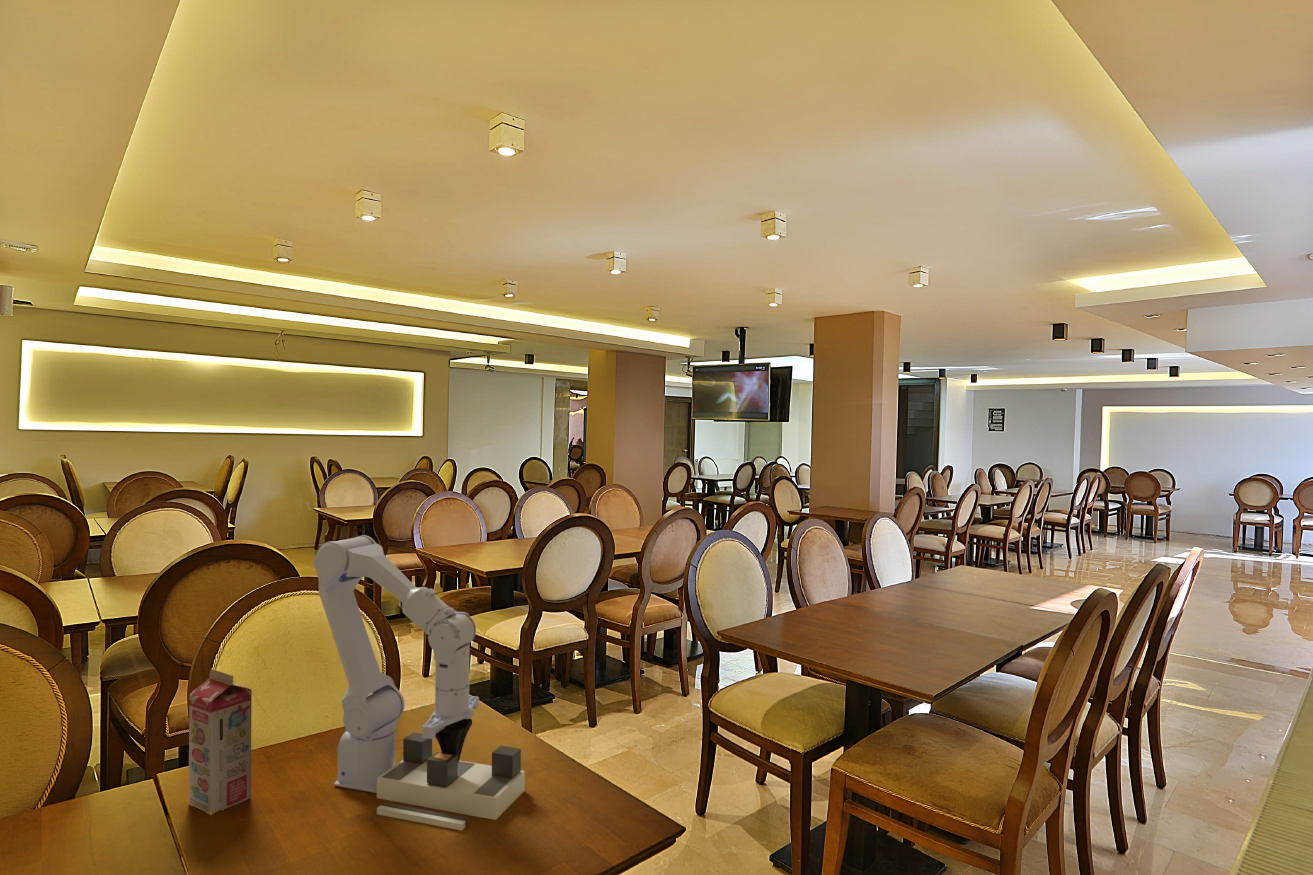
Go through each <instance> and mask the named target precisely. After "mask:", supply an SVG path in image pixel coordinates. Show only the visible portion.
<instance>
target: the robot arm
mask: <svg viewBox="0 0 1313 875" xmlns="http://www.w3.org/2000/svg"><path fill="white" fill-rule="evenodd" d="M312 563H313V566H314V569H315V572H316V575H317V578H318V579H317V580H318V594H319V598H320V600H321V603H322V604H321V605H322V606H323V610H324V612H325V616H326V618H327V622H328V625H329V629H330V631H331V635H332V637H333V640H334V643H335V646H336V650H337V652H338V654H339V658H340V660H341V661H340V662H341V664H342V667H343V670H344V674H345V677H346V679H347V680H346V681H347V683H348V686H347V689H346V691H345V693H344V695H343V697H342V699H341V702H340V703H341V705H342V709H343V718H342V721H343V725H344V728H345V731H344V733H343V734H342V736H341V737H340V739H339V742H338V746H337V780H335V782H334V783H333V785H334V786H336V787H341V788H346V789H352V790H357V791H362V792H368V793H373V794H377V777H379V776H380V775H382V774H383V773H384V772H386V771H387V770H389V769H390V768H392V767H393V766H395V765H396V749H397V748H396V736H397V735H396V734H397V733H396V732H397V731H396V730H397V728H396V726H398V721H399V720H398V719H400V717H401V716H402V715H403V714H404V711H405V705H406V704H405V699H404V696H403V694H402V692H401V691H400V690H399V689H398V688H397V687H396V685H395V683H394V680H393V678H392V677H391V676H389V675H386V674H385V673H384V672H381V670H380V668H379V665H378V661H377V659H376V656H375V652H374V650H373V647H372V643H371V641H370V637H369V634H368V632H367V628H366V624H365V622H364V620H363V617H362V613H361V610H360V606H359V605H358V601H357V598H356V596H355V593H354V592H355V591H354V590H355V589H356V587H357V585H358V583H359V582H360V580H361V579H363V578H370V579H371V580H372V581H374V582H375V583H376V584H378V586H380V587H381V588H383V589H384V590H386V591H387V592H388V594H389V593H390V595H392V596H393V597H395V598H396V599H397V600H398V601H400V602H401V606H402V607H401V609H402V611H401V612H402V613H403V614H404V615H405V616H406V617H407V618H408V619H410V621H412V622H413V623H414V624H415V625H416V626H417V627H419V628H420V629H421V630H422V631H423V632H424V633H425V634H426V635H428V636H427V639H428V640H427V641H428V644H429V646H430V648H431V649H432V652H433V660H434V661H435V662H434V666H435V667H434V668H435V669H434V670H435V671H434V672H435V674H434V676H435V678H434V680H435V681H434V683H435V684H434V695H435V696H434V711H433V713H432V714H431V715H430V718H429V719H428V720H427V721H426V722H425V724H424V725H422V726H421V731H422V732H421V734H422V738H428V739H432V740H433V739H435V738H436V741H437V742H438V745H439V747H440V752H441V753H448V754H454V755H458V763H459V761H461V755H462V752H463V748H464V744H465V741H466V737H467V735H468V732H469V731H470V728H471V727H472V725H473V719H472V718H473V717H474V716H475V711H474V710H477V709H478V708H479V707H480V697H479V696H476V695H475V696H473V695H470V650H471V649H470V647H471V645H470V643H471V642H473V640H474V639H475V637H476V634H477V633H476V632H477V627H476V624H475V621H474V620H473V618H472V617H471V616H470V614H469V613H468V612H465V611H456V610H455V609H454V607H452V606H449V605H448V604H446V603H445V601H443V600H442V599H441V598H439V597H438V596H437V595H436V593H437V591H436V590H434V589H433V588H428V587H426V586H421V587H417V586H416V585H415V584H414V583H413V582H412V581H410V579H408V578H407V576H405V574H404V573H403V572H402V571H401V570H400V569H399V568H398V567H397V566H396V565H395V564H394V563H393V562H392V561H391V560H390V559H389V558H388V557H387V556H386V555H385V553H384V548H383V546H382V545H380V544H379V543H378V542H376V541H375V539H374V538H372V537H370V536H369V535H365V534H364V535H363V534H362V535H358V536H356V537H351V538H347V539H342V540H335V541H332V540H331V541H327V542H324V543H323V544H322V545H321V546H320V547H319V549H318V550H317V553H316V555H315V556H314V558H313V560H312Z"/></svg>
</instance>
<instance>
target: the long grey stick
mask: <svg viewBox="0 0 1313 875" xmlns="http://www.w3.org/2000/svg"><path fill="white" fill-rule="evenodd" d="M376 815H379V816H384V817H389V818H395V819H399V820H405V821H409V822H416V823H419V824H420V823H421V824H426V825H432V826H436V827H442V828H448V829H452V830H457V831H463V830H465V828H466V827H468V825H469V817H465V816H459V815H454V814H453V815H452V814H450V813H449V814H448V813H443V812H438V811H437V812H436V811H432V810H428V809H427V810H426V809H421V808H417V807H410V806H406V805H400V804H393V803H387V802H383V803H382V804H381V805H379V806H378V807H376Z"/></svg>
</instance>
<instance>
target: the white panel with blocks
mask: <svg viewBox="0 0 1313 875" xmlns="http://www.w3.org/2000/svg"><path fill="white" fill-rule="evenodd" d="M402 739H403V741H402V749H403V750H402V760H401V761H399V762H398V763H395V766H393V767H392V768H390V769H389V770H387V771H386V772H384V773H383V774H382V775H380V776H379V777H377V793H376V799H380V800H386V801H390V802H396V803H402V804H406V805H413V806H417V807H422V808H428V809H429V808H430V809H435V810H439V811H446V812H451V813H456V814H461V815H462V814H463V815H466V816H472V817H477V818H484V819H488V820H489V819H490V820H493V821H496V820H497V819H499V817H500V816H502V814H503V813H504V812H505V811H506V810H507V809H508V808H509V807H510V806H511V805H512V804H513V803H514V802H516V801H517V799H518V798H519V797H520V796H521V795H522V794H523V793H524V792H525V774H526V772H525V770H521V769H522V766H521V764H522V760H521V759H522V748H519V747H513V746H505V745H500V746H498V747H497V748H496V749H494V750H493V751H492V752H491V765H490V764H489V765H488V764H483V763H478V762H473V761H472V762H470V761H464V760H459V763H458V768H457V779H456V780H455V781H454V782H452V783H451V784H450V785H449V786H448V787H447V786H441V785H436V784H430V783H427V759H428V758H430V757H431V756H432V755H433V739H428V738H422V732H421V733H419V732H412V733H410V734H408V735H407V736H406V737H404V738H402Z"/></svg>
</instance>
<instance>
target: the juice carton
mask: <svg viewBox="0 0 1313 875" xmlns="http://www.w3.org/2000/svg"><path fill="white" fill-rule="evenodd" d="M252 693H253V692H252V689H251V688H248V687H245V686H242V685H239V684H236V683H234V675H233V674H228V673H226V672H222V671H219V670H216V669H213V668H210V669H209V678H208V679H207V680H205V681H204V682H203V683H201V684H200V685H199V686H198V687H196V688H195V689H193V691H192V692H191V693H190V694H189V712H188V713H189V720H188V721H189V722H188V723H189V728H188V729H189V730H188V734H189V735H188V740H189V742H188V746H189V747H188V748H189V749H188V804H189V803H190V804H192V805H194V806H196V807H198V808H200V809H201V810H203V811H205V812H208V813H209V814H210V807H211V814H212V813H215V812H218V811H220V810H222V811H224V809H225V810H226V808H227V809H229V808H231V806H232V807H233V805H234V806H236V805H238V804H241V803H242V802H246V801H248V800H249V799H251V798H252V797H251V796H252V787H251V786H252V695H253V694H252ZM228 807H229V808H228ZM220 812H221V811H220ZM218 813H219V812H218Z"/></svg>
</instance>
